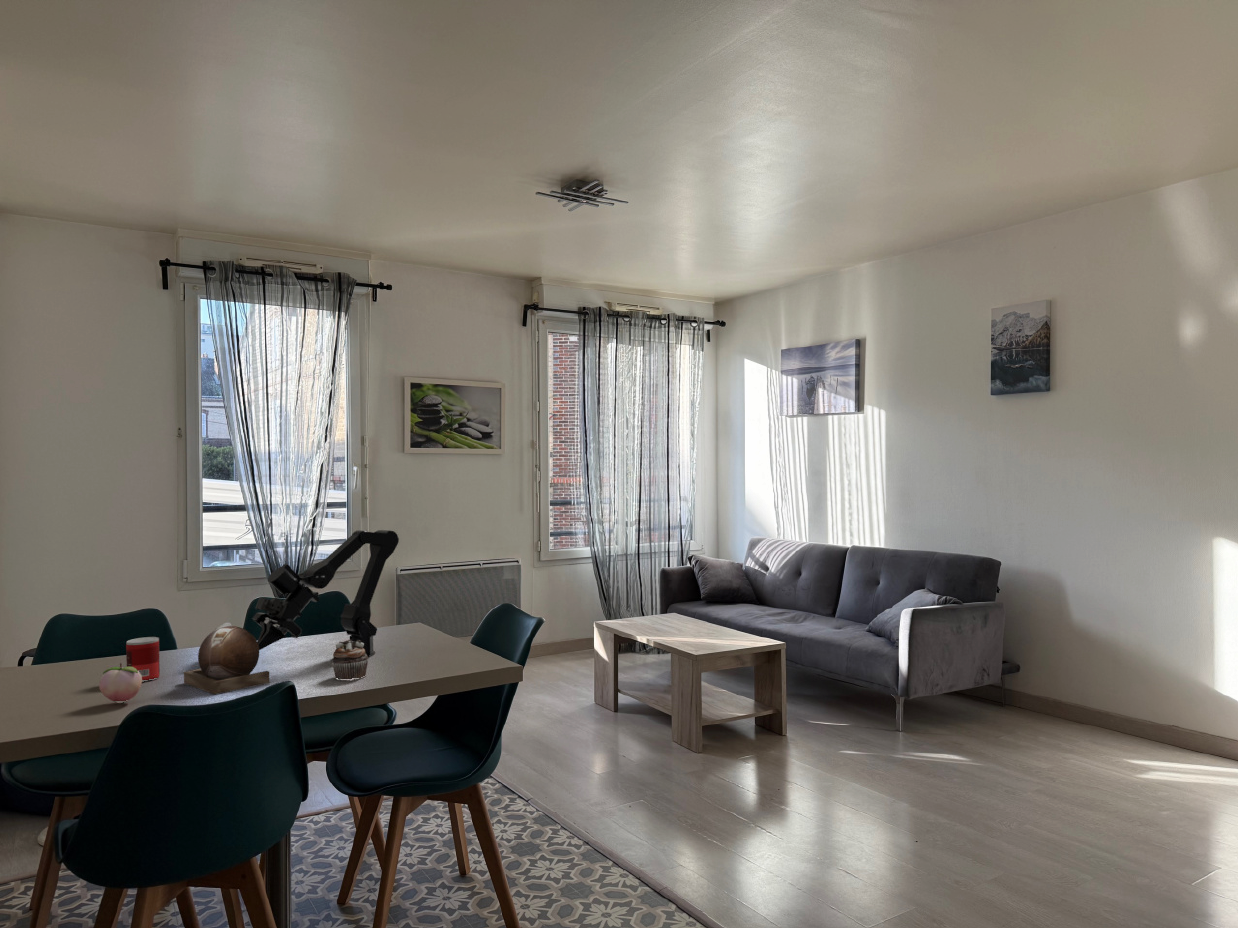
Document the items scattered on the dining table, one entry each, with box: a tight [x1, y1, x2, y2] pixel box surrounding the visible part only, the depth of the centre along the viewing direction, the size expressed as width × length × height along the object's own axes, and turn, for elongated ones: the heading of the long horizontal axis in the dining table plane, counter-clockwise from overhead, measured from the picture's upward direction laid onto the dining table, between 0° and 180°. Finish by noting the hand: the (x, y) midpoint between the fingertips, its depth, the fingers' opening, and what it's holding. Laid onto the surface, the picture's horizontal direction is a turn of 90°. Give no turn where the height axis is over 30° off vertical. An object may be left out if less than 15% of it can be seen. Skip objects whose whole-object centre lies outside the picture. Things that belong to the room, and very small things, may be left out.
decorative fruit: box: [98, 662, 143, 702], centre depth 212 cm, size 9×8×10 cm
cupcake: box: [331, 639, 370, 679], centre depth 234 cm, size 10×10×10 cm
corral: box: [183, 668, 271, 695], centre depth 231 cm, size 14×19×3 cm
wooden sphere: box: [197, 625, 260, 681], centre depth 231 cm, size 15×15×15 cm
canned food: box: [125, 636, 161, 680], centre depth 237 cm, size 8×8×11 cm
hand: (256, 649), depth 237 cm, fingers closed, pressing on wooden sphere
